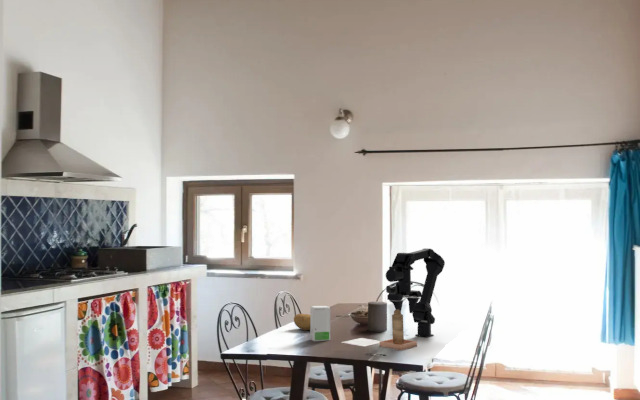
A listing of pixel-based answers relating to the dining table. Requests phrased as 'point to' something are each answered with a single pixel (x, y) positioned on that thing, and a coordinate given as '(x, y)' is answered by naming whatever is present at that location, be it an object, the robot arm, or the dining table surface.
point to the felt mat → (362, 342)
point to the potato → (302, 321)
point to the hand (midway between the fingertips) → (404, 314)
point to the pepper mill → (397, 327)
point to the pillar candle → (377, 316)
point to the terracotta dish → (404, 346)
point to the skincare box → (320, 323)
